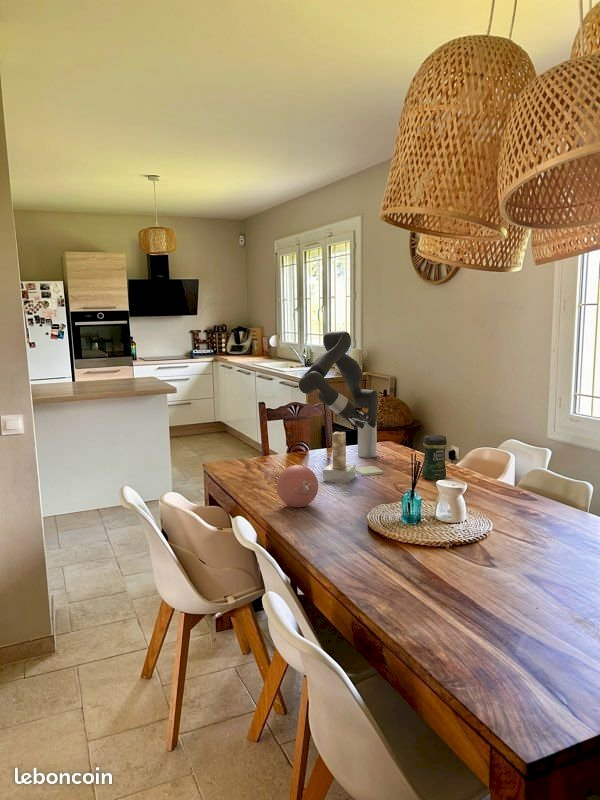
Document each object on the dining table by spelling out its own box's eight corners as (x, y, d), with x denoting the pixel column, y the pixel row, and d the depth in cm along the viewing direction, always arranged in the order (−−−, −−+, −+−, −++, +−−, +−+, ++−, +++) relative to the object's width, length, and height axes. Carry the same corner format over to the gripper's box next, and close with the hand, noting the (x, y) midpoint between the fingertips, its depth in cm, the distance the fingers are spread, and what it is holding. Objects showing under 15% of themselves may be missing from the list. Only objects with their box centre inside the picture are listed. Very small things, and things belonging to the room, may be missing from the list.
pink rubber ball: (285, 519, 195) (284, 476, 193) (272, 501, 215) (271, 462, 212) (327, 514, 199) (327, 472, 197) (311, 497, 218) (311, 458, 216)
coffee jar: (427, 481, 238) (428, 437, 235) (419, 476, 245) (420, 434, 243) (449, 479, 239) (449, 436, 237) (440, 474, 247) (441, 432, 244)
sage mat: (353, 470, 257) (353, 468, 256) (373, 468, 260) (373, 465, 259) (362, 475, 247) (362, 473, 247) (383, 473, 250) (383, 471, 250)
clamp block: (323, 480, 241) (322, 469, 240) (331, 474, 251) (331, 463, 250) (347, 483, 237) (347, 471, 236) (355, 476, 247) (355, 465, 246)
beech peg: (332, 479, 243) (332, 433, 240) (336, 476, 247) (335, 431, 244) (342, 480, 241) (342, 434, 238) (346, 477, 245) (345, 432, 242)
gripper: (354, 396, 227) (382, 418, 233) (335, 399, 240) (363, 419, 245) (346, 411, 225) (375, 433, 230) (327, 413, 237) (355, 434, 243)
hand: (368, 426), depth 238 cm, fingers open, 8 cm apart
